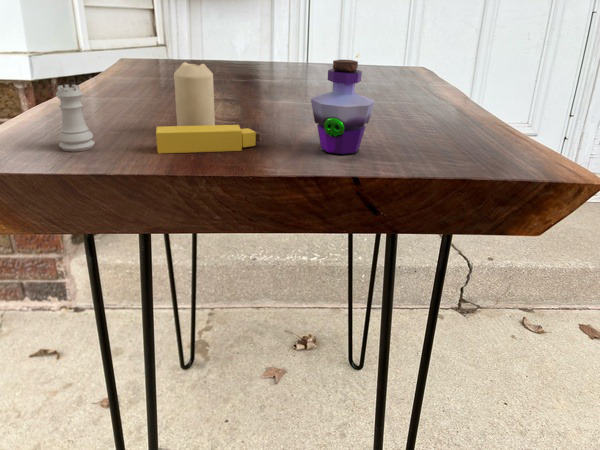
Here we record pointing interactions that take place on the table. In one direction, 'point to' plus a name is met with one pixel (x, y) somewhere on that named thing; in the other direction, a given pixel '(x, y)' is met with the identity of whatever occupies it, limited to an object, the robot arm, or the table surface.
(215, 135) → the yellow highlighter marker
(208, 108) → the candle
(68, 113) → the rook chess piece
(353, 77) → the potion bottle
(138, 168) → the table surface
